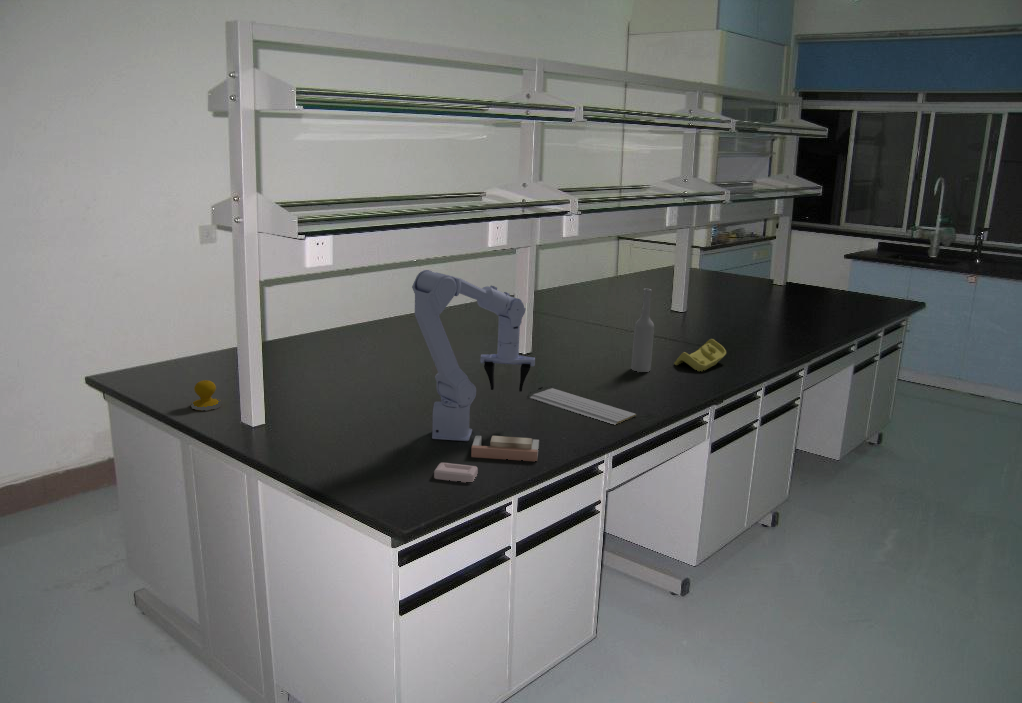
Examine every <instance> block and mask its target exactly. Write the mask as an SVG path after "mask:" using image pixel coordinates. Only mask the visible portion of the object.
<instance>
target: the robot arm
mask: <svg viewBox="0 0 1022 703" xmlns="http://www.w3.org/2000/svg"><path fill="white" fill-rule="evenodd" d="M411 288H412V290H413V293H414V317H415V319H416V322H417V324H418V326H419V327H418V328H419V329H420V332H421V334H422V336H423V338H424V342H425V344H426V346H427V348H428V350H429V354H430V356H431V359H432V361H433V364H434V366H435V368H436V370H437V373H436V374H435V376H434V379H435V381H436V392H437V394H438V395H439V396H440V401H434V403H433V409H432V433H431V439H433V440H443V441H459V442H468V441H469V440H470V438H471V435H472V432H473V429H472V428H470V418H471V416H470V411H471V409H470V408H471V406H472V403H473V402H474V401H475V398H476V395H477V388H476V385H475V384H474V383H473V382H471V381H470V379H469V377H468V375H467V374H466V373H465V372H464V370H462V369H461V368H460V366H459V363H458V360H457V358H456V356H455V353H454V350H453V348H452V346H451V343H450V340H449V338H448V336H447V333H446V330H445V327H444V326H443V323H442V319H441V317H440V315H441V314H442V313H443V312H444V311H445V309H446V308H447V307H448V305H449V303H451V301H452V300H453V299H454V297H458V296H459V295H462V296H465V297H468V298H470V299H472V300H476V304H477V306H478V307H479V308H482V309H485V310H486V311H489V312H491V313H494V314H495V315H496V316H498V323H497V324H498V325H497V326H498V329H497V350H496V351H497V353H491V354H483V353H482V354H480V362H479V363H480V364H483V368H484V371H485V373H486V375H487V377H488V381H489V386H490V390H492V391H494V389H495V368H496V367H495V364H499V365H500V364H503V365H518V366H519V365H520V369H519V370H520V374H519V375H520V377H519V378H520V379H519V387H518V389H519V390H518V391H519V393H521V392H522V391H523V387H524V382H525V380H526V378H527V376H528V374H529V372H530V370H531V367H535V365H536V357H532V356H524V355H519V349H520V331H521V325H522V320H523V318H524V315H525V314H526V307H525V306H524V302H523V301H522V300H521V299H520V298H517V297H513V296H510V293H509V292H507V291H504V292H502V291H501V290H498V287H497V286H495V285H492V284H491V285H490V286H488V285H487V286H483V287H479V286H477V285H475V284H473V283H471V282H469V281H467V280H465V279H463V278H461V277H458V276H453V275H450V274H445V273H441V272H434V271H433V270H429V269H423V270H421V271H420V272H418V274H417V275H416V278H415V279H414V281H413V284H412V286H411Z"/></svg>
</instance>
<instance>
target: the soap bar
mask: <svg viewBox="0 0 1022 703" xmlns="http://www.w3.org/2000/svg"><path fill="white" fill-rule="evenodd" d="M478 471H479V469H478V467H477V466H476V465H468V464H459V463H450V462H440V463H439V464H438V465H437V467H435V470H434V471H433V473H434V474H433V479H435V480H443V481H449V480H450V482H457V481H461V482H460V483H466V482H473V481H475V480H474V479H476V478H477V476H478V475H477V474H478V473H479V472H478ZM475 477H476V478H475ZM473 483H474V482H473Z"/></svg>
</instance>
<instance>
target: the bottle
mask: <svg viewBox="0 0 1022 703" xmlns="http://www.w3.org/2000/svg"><path fill="white" fill-rule="evenodd" d="M642 290H643V297H642V304H641V305H642V308H641V314H640V317H639V319H637V321H636V322H635V324H634V332H633V344H632V352H631V364H630V370H631V369H632V370H634V371H637V372H636V373H639V372H648V373H650V372H651V371H650V370H651V369H652V359H653V358H652V356H653V345H654V344H653V343H654V333H655V331H654V330H655V324H654V322H653V321H652V318H651V317H650V312H651V310H650V309H651V298H652V297H651V296H652V289H651V288H643V289H642ZM632 370H631V371H632ZM634 371H633V372H634ZM649 371H650V372H649Z"/></svg>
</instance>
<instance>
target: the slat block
mask: <svg viewBox="0 0 1022 703" xmlns="http://www.w3.org/2000/svg"><path fill="white" fill-rule="evenodd" d="M532 443H533V438H531V437H519V436H517V437H516V436H501V435H492V436H491V438H490V445H489V446H491V447H506V448H521V449H532Z"/></svg>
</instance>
